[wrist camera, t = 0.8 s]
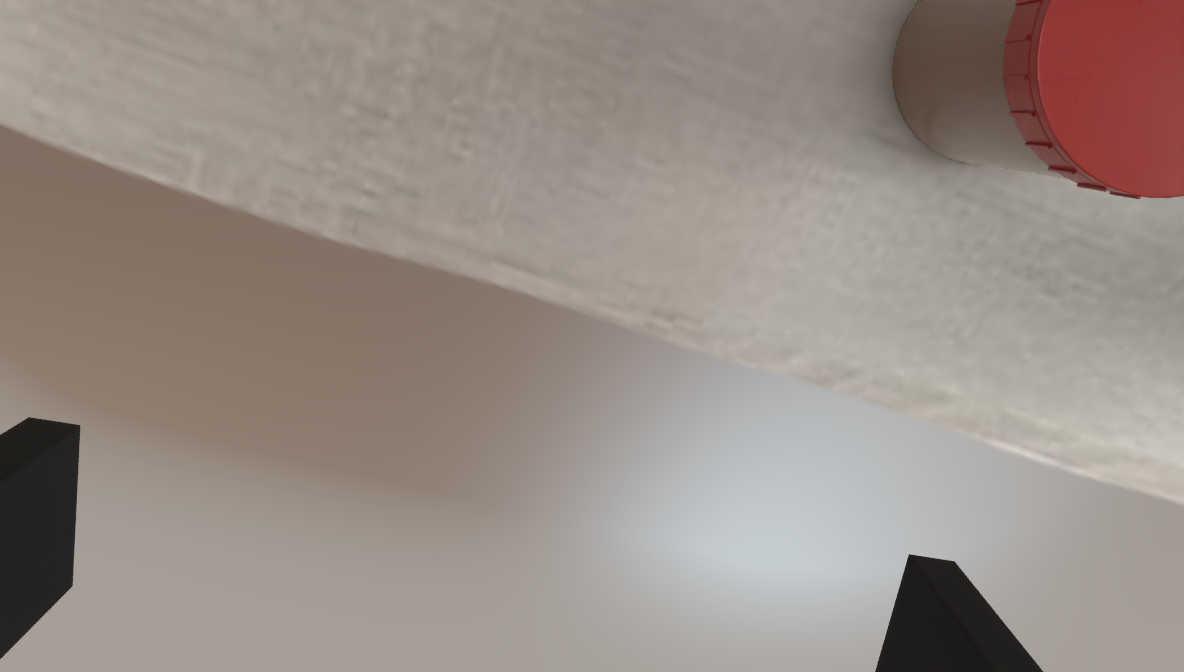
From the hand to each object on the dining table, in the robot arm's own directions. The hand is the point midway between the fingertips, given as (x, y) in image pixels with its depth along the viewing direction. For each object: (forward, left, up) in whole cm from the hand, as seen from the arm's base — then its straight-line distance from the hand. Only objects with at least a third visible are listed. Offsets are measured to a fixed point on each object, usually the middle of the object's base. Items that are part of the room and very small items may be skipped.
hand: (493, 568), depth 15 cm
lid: (+2, +18, -11) cm, 21 cm away
